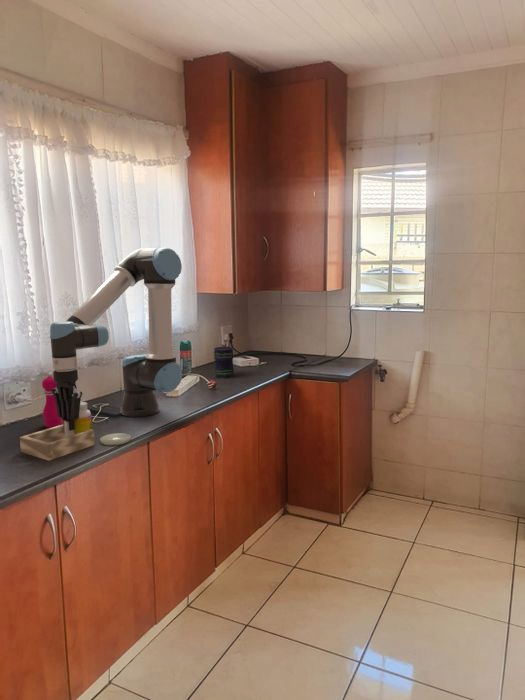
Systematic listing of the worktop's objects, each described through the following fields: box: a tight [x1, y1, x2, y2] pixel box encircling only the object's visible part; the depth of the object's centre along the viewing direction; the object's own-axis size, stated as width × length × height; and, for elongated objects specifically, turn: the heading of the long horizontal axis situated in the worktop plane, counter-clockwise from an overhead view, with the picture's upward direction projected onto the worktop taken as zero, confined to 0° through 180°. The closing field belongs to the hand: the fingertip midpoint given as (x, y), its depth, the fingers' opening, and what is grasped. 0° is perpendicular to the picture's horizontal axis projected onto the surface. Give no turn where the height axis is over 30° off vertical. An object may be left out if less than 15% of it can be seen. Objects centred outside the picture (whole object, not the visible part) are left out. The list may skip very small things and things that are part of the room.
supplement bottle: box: [74, 401, 93, 434], centre depth 188 cm, size 7×7×13 cm
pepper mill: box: [41, 372, 64, 429], centre depth 205 cm, size 7×7×20 cm
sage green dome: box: [99, 432, 132, 446], centre depth 188 cm, size 10×10×1 cm
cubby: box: [19, 423, 96, 462], centre depth 181 cm, size 18×14×5 cm
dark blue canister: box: [213, 346, 234, 380], centre depth 287 cm, size 10×10×15 cm
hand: (70, 438), depth 184 cm, fingers closed
